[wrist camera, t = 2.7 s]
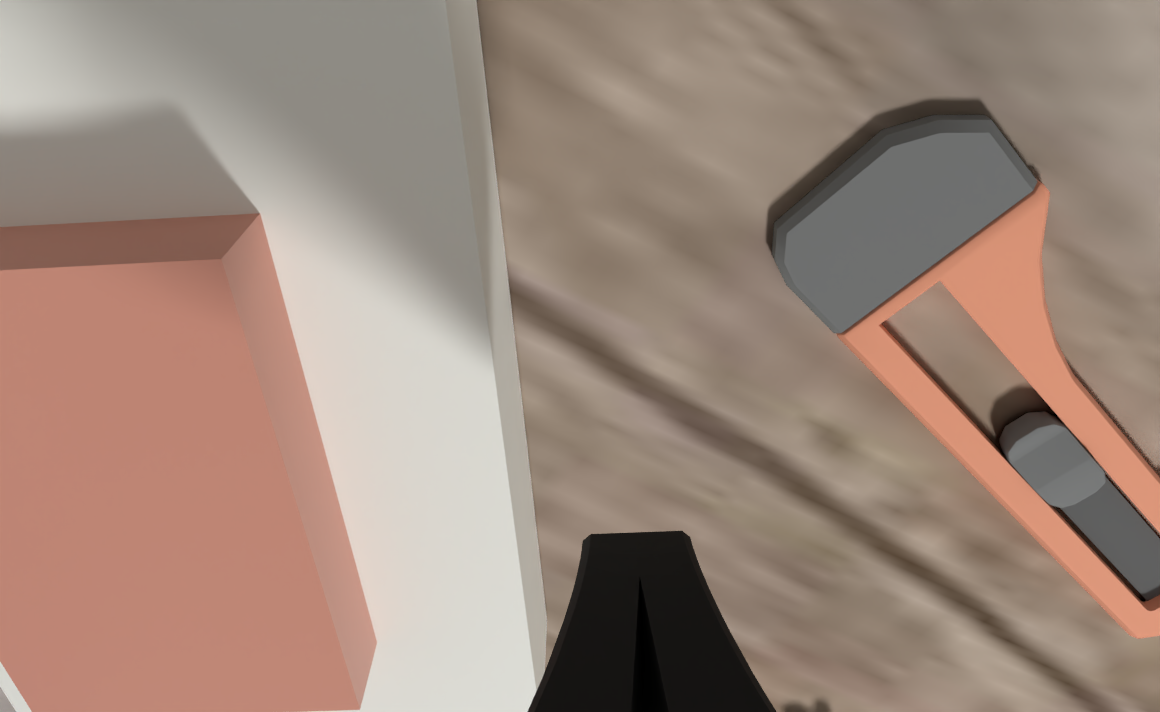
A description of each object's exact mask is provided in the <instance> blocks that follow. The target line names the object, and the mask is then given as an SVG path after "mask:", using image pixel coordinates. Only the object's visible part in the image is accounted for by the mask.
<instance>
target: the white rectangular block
mask: <svg viewBox="0 0 1160 712" xmlns="http://www.w3.org/2000/svg"><path fill="white" fill-rule="evenodd" d="M257 213H260V215H261V218H262V222H263V226H264V229H265V233H266V237H267V240H268V244H269V248H270V251H271V255H272V259H273V262H274V266H275V270H276V273H277V277H278V281H279V284H280V288H281V292H282V295H283V299H284V303H285V306H286V310H287V314H288V317H289V321H290V325H291V328H292V332H293V336H294V339H295V343H296V347H297V350H298V354H299V358H300V361H301V365H302V369H303V372H304V376H305V380H306V383H307V387H308V391H309V394H310V398H311V402H312V405H313V409H314V413H315V416H316V420H317V424H318V427H319V431H320V435H321V438H322V442H323V446H324V449H325V453H326V457H327V460H328V464H329V468H330V471H331V475H332V479H333V482H334V486H335V490H336V493H337V497H338V501H339V504H340V508H341V512H342V515H343V519H344V523H345V526H346V530H347V534H348V537H349V541H350V545H351V548H352V552H353V556H354V559H355V563H356V567H357V570H358V574H359V578H360V581H361V585H362V589H363V592H364V596H365V600H366V603H367V607H368V611H369V614H370V618H371V622H372V625H373V629H374V633H375V636H376V640H377V645H376V649H375V653H374V657H373V661H372V665H371V669H370V673H369V677H368V680H367V684H366V688H365V692H364V696H363V700H362V704H361V708H360V710H338V711H308V712H528V709H529V707H530V705H531V702H532V700H533V698H534V696H535V693H536V691H537V689H538V687H539V684H540V682H541V680H542V678H543V675H544V673H545V653H546V632H547V616H546V607H545V599H544V590H543V581H542V572H541V563H540V555H539V546H538V537H537V528H536V520H535V511H534V502H533V493H532V484H531V476H530V467H529V458H528V449H527V441H526V432H525V423H524V414H523V405H522V397H521V388H520V379H519V370H518V362H517V353H516V344H515V335H514V326H513V318H512V309H511V300H510V291H509V283H508V274H507V265H506V256H505V247H504V239H503V230H502V221H501V212H500V203H499V195H498V186H497V177H496V168H495V160H494V151H493V142H492V133H491V124H490V116H489V107H488V98H487V89H486V81H485V72H484V63H483V54H482V45H481V37H480V28H479V19H478V10H477V2H476V0H0V227H12V226H31V225H49V224H68V223H87V222H106V221H125V220H144V219H162V218H181V217H200V216H219V215H238V214H257ZM0 687H1V689H2V690H3V692H4V693H5V695H6V696H7V698H8V700H9V701H10V703H11V704H12V706H13V707H14V709H15V710H16V712H32V711H31V710H30V708H29V706H28V705H27V703H26V702H25V700H24V698H23V697H22V695H21V694H20V692H19V691H18V689H17V687H16V686H15V684H14V683H13V681H12V679H11V678H10V676H9V675H8V673H7V672H6V670H5V668H4V667H3V665H2V664H1V662H0Z"/></svg>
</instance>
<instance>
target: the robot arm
mask: <svg viewBox="0 0 1160 712" xmlns="http://www.w3.org/2000/svg"><path fill="white" fill-rule="evenodd" d="M528 712H776V710H775V709H774V707H773V705H772V704H771V702H770V701H769V699H768V698H767V696H766V694H765V693H764V691H763V689H762V688H761V686H760V684H759V683H758V681H757V679H756V677H755V676H754V674H753V672H752V671H751V669H750V667H749V665H748V663H747V662H746V660H745V658H744V656H743V654H742V653H741V651H740V649H739V647H738V645H737V643H736V642H735V640H734V638H733V636H732V634H731V633H730V631H729V629H728V627H727V625H726V623H725V621H724V619H723V617H722V615H721V613H720V611H719V609H718V607H717V604H716V602H715V600H714V598H713V596H712V594H711V592H710V590H709V587H708V585H707V583H706V580H705V578H704V576H703V573H702V571H701V568H700V566H699V563H698V560H697V558H696V555H695V552H694V549H693V546H692V542H691V539H690V537H689V536H688V535H687V534H685V533H684V532H683V531H666V532H638V533H611V534H591V535H589V536H588V537H587V538H586V539H585V540H583V544H582V552H581V559H580V564H579V568H578V573H577V577H576V581H575V585H574V589H573V592H572V596H571V599H570V602H569V606H568V609H567V612H566V615H565V619H564V621H563V624H562V627H561V630H560V632H559V635H558V638H557V641H556V643H555V646H554V649H553V652H552V654H551V657H550V660H549V662H548V665H547V668H546V670H545V673H544V675H543V678H542V680H541V682H540V684H539V687H538V689H537V691H536V693H535V696H534V698H533V700H532V702H531V705H530V707H529V709H528Z"/></svg>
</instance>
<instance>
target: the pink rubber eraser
mask: <svg viewBox="0 0 1160 712" xmlns="http://www.w3.org/2000/svg"><path fill="white" fill-rule="evenodd" d="M376 645H377V640H376V636H375V633H374V629H373V625H372V622H371V618H370V614H369V611H368V607H367V603H366V600H365V596H364V592H363V589H362V585H361V581H360V578H359V574H358V570H357V567H356V563H355V559H354V556H353V552H352V548H351V545H350V541H349V537H348V534H347V530H346V526H345V523H344V519H343V515H342V512H341V508H340V504H339V501H338V497H337V493H336V490H335V486H334V482H333V479H332V475H331V471H330V468H329V464H328V460H327V457H326V453H325V449H324V446H323V442H322V438H321V435H320V431H319V427H318V424H317V420H316V416H315V413H314V409H313V405H312V402H311V398H310V394H309V391H308V387H307V383H306V380H305V376H304V372H303V369H302V365H301V361H300V358H299V354H298V350H297V347H296V343H295V339H294V336H293V332H292V328H291V325H290V321H289V317H288V314H287V310H286V306H285V303H284V299H283V295H282V292H281V288H280V284H279V281H278V277H277V273H276V270H275V266H274V262H273V259H272V255H271V251H270V248H269V244H268V240H267V237H266V233H265V229H264V226H263V222H262V218H261V215H260V213H257V214H238V215H219V216H200V217H181V218H162V219H144V220H125V221H106V222H87V223H68V224H49V225H31V226H12V227H0V662H1V664H2V665H3V667H4V668H5V670H6V672H7V673H8V675H9V676H10V678H11V679H12V681H13V683H14V684H15V686H16V687H17V689H18V691H19V692H20V694H21V695H22V697H23V698H24V700H25V702H26V703H27V705H28V706H29V708H30V710H31V711H32V712H308V711H338V710H360V708H361V704H362V700H363V696H364V692H365V688H366V684H367V680H368V677H369V673H370V669H371V665H372V661H373V657H374V653H375V649H376Z"/></svg>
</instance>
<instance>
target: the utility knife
mask: <svg viewBox="0 0 1160 712" xmlns="http://www.w3.org/2000/svg"><path fill="white" fill-rule="evenodd" d="M1049 197H1050V192H1049V191H1048V190H1047V188H1046V187H1045V186H1044V184H1042V183H1041V182H1040V181H1038V180H1037V179H1035V177H1034V176H1033V175H1032V173H1031V172H1030V171H1029V169H1028V168H1027V167H1026V165H1025V164H1024V163H1023V161H1022V160H1021V159H1020V157H1019V156H1018V155H1017V153H1016V152H1015V151H1014V149H1013V148H1012V147H1011V145H1010V144H1009V143H1008V141H1007V140H1006V139H1005V137H1004V136H1003V135H1002V133H1001V132H1000V130H999V129H998V128H997V126H996V125H995V124H994V122H993V121H992V120H991V119H990V118H988V117H987V116H986V115H931V116H928V117H924V118H921V119H917V120H914V121H911V122H907V123H904V124H900V125H897V126H893V127H890V128H886V129H883V130H881V131H880V132H879V133H878V134H876V135H875V136H874V137H873V138H872V139H871V140H869V141H868V142H867V143H866V144H865V145H864V146H862V147H861V148H860V149H859V150H858V151H857V152H855V153H854V154H853V155H852V156H851V157H850V158H849V159H847V160H846V161H845V162H844V163H843V164H842V165H840V166H839V167H838V168H837V169H836V170H835V171H833V172H832V173H831V174H830V175H829V176H828V177H826V178H825V179H824V180H823V181H822V182H821V183H820V184H818V185H817V186H816V187H815V188H814V189H813V190H811V191H810V192H809V193H808V194H807V195H806V196H804V197H803V198H802V199H801V200H800V201H799V202H797V203H796V204H795V205H794V206H793V207H792V208H791V209H789V210H788V211H787V212H786V213H785V214H784V215H782V216H781V217H780V218H779V219H778V220H777V221H775V222H774V230H773V243H772V255H773V258H774V260H775V262H776V264H777V266H778V268H779V270H780V273H781V275H782V277H783V279H784V281H785V283H786V285H787V286H788V287H789V288H790V289H791V290H792V291H793V292H794V293H795V294H796V295H797V296H798V297H799V298H800V299H801V300H802V301H803V302H804V303H805V304H806V305H807V306H808V307H809V308H810V309H811V310H812V311H813V312H814V313H815V314H816V315H817V316H818V317H819V318H820V319H821V320H822V321H823V322H824V323H825V324H826V325H827V326H828V327H829V328H830V330H831V331H832V332H833V333H836V334H837V336H838V338H839V339H840V340H841V341H842V342H843V343H844V344H845V345H846V346H847V347H848V348H849V349H850V350H851V351H852V352H853V353H854V354H855V355H856V356H857V357H858V358H859V359H860V360H861V361H862V362H863V363H864V364H865V365H866V366H867V367H868V368H869V369H870V370H871V371H872V372H873V373H874V374H875V375H876V376H877V377H878V379H879V380H880V381H881V382H882V383H883V384H884V385H885V386H886V387H887V388H888V389H889V390H890V391H891V392H892V393H893V394H894V395H895V396H896V397H897V398H898V399H899V400H900V401H901V402H902V403H903V404H904V405H905V406H906V407H907V408H908V409H909V410H910V411H911V412H912V413H913V414H914V415H915V416H916V417H917V418H918V419H919V420H920V421H921V422H922V423H923V425H924V426H925V427H926V428H927V429H928V430H929V431H930V432H931V433H932V434H933V435H934V436H935V437H936V438H937V439H938V440H939V441H940V442H941V443H942V444H943V445H944V446H945V447H946V448H947V449H948V450H949V451H950V452H951V453H952V454H953V455H954V456H955V457H956V458H957V459H958V460H959V461H960V462H961V463H962V464H963V465H964V466H965V467H966V468H967V469H968V470H969V472H970V473H971V474H972V475H973V476H974V477H975V478H976V479H977V480H978V481H979V482H980V483H981V484H982V485H983V486H984V487H985V488H986V489H987V490H988V491H989V492H990V493H991V494H992V495H993V496H994V497H995V498H996V499H997V500H998V501H999V502H1000V503H1001V504H1002V505H1003V506H1004V507H1005V508H1006V509H1007V510H1008V511H1009V512H1010V513H1011V514H1012V515H1013V516H1014V518H1015V519H1016V520H1017V521H1018V522H1019V523H1020V524H1021V525H1022V526H1023V527H1024V528H1025V529H1026V530H1027V531H1028V532H1029V533H1030V534H1031V535H1032V536H1033V537H1034V538H1035V539H1036V540H1037V541H1038V542H1039V543H1040V544H1041V545H1042V546H1043V547H1044V548H1045V549H1046V550H1047V551H1048V552H1049V553H1050V554H1051V555H1052V556H1053V557H1054V558H1055V559H1056V560H1057V561H1058V562H1059V564H1060V565H1061V566H1062V567H1063V568H1064V569H1065V570H1066V571H1067V572H1068V573H1069V574H1070V575H1071V576H1072V577H1073V578H1074V579H1075V580H1076V581H1077V582H1078V583H1079V584H1080V585H1081V586H1082V587H1083V588H1084V589H1085V590H1086V591H1087V592H1088V593H1089V594H1090V595H1091V596H1092V597H1093V598H1094V599H1095V600H1096V601H1097V602H1098V603H1099V604H1100V605H1101V606H1102V607H1103V608H1104V609H1105V611H1106V612H1107V613H1108V614H1109V615H1110V616H1111V617H1112V618H1113V619H1114V620H1115V621H1116V622H1117V623H1118V624H1119V625H1120V626H1121V627H1122V628H1123V629H1124V630H1125V631H1126V632H1127V633H1128V634H1129V635H1130V636H1132V637H1135V638H1138V639H1140V638H1147V637H1153V636H1160V538H1159V537H1158V536H1157V535H1156V534H1155V533H1154V531H1153V530H1152V529H1151V528H1150V527H1149V526H1148V525H1147V523H1146V522H1145V521H1144V520H1143V519H1142V518H1141V517H1140V515H1139V514H1138V513H1137V512H1136V511H1135V510H1134V509H1133V507H1132V506H1131V505H1130V504H1129V503H1128V502H1127V501H1126V499H1125V498H1124V497H1123V496H1122V495H1121V494H1120V493H1119V491H1118V490H1117V489H1116V488H1115V487H1114V486H1113V485H1112V483H1111V482H1110V481H1109V480H1108V479H1107V478H1106V477H1105V471H1106V472H1107V473H1108V474H1109V475H1110V476H1111V477H1112V479H1113V480H1114V481H1115V482H1116V483H1117V484H1118V486H1119V487H1120V488H1121V489H1122V490H1123V491H1124V492H1125V494H1126V495H1127V496H1128V497H1129V498H1130V499H1131V500H1132V502H1133V503H1134V504H1135V505H1136V506H1137V507H1138V509H1139V510H1140V511H1141V512H1142V513H1143V514H1144V515H1145V517H1146V518H1147V519H1148V520H1149V521H1150V522H1151V523H1152V525H1153V526H1154V527H1155V528H1156V529H1157V530H1158V531H1159V533H1160V477H1159V476H1158V475H1157V474H1156V473H1155V471H1154V470H1153V469H1152V468H1151V467H1150V465H1149V464H1148V463H1147V462H1146V461H1145V459H1144V458H1143V457H1142V456H1141V455H1140V453H1139V452H1138V451H1137V450H1136V449H1135V447H1134V446H1133V445H1132V444H1131V443H1130V441H1129V440H1128V439H1127V438H1126V437H1125V435H1124V434H1123V433H1122V432H1121V431H1120V429H1119V428H1118V427H1117V426H1116V425H1115V423H1114V422H1113V421H1112V420H1111V419H1110V417H1109V416H1108V415H1107V414H1106V413H1105V411H1104V410H1103V409H1102V408H1101V407H1100V405H1099V404H1098V403H1097V402H1096V401H1095V399H1094V398H1093V397H1092V396H1091V395H1090V393H1089V392H1088V391H1087V390H1086V389H1085V387H1084V386H1083V385H1082V384H1081V383H1080V381H1079V380H1078V379H1077V378H1076V377H1075V375H1074V374H1073V373H1072V371H1071V369H1070V367H1069V365H1068V363H1067V361H1066V359H1065V357H1064V355H1063V353H1062V351H1061V349H1060V347H1059V345H1058V343H1057V341H1056V338H1055V334H1054V331H1053V327H1052V323H1051V319H1050V316H1049V312H1048V308H1047V304H1046V301H1045V292H1044V279H1043V266H1042V247H1043V240H1044V233H1045V225H1046V218H1047V211H1048V204H1049ZM938 281H941V282H942V283H943V285H944V286H945V287H946V288H947V289H948V290H949V291H950V293H951V294H952V295H953V296H954V297H955V298H956V299H957V301H958V302H959V303H960V304H961V305H962V306H963V307H964V309H965V310H966V311H967V312H968V313H969V314H970V316H971V317H972V318H973V319H974V320H975V321H976V322H977V324H978V325H979V326H980V327H981V328H982V329H983V330H984V332H985V333H986V334H987V335H988V336H989V337H990V339H991V340H992V341H993V342H994V343H995V344H996V345H997V347H998V348H999V349H1000V350H1001V351H1002V352H1003V353H1004V355H1005V356H1006V357H1007V358H1008V359H1009V360H1010V361H1011V363H1012V364H1013V365H1014V366H1015V367H1016V368H1017V370H1018V371H1019V372H1020V373H1021V374H1022V375H1023V376H1024V378H1025V379H1026V380H1027V381H1028V382H1029V383H1030V384H1031V386H1032V387H1033V388H1034V389H1035V390H1036V391H1037V392H1038V394H1039V395H1040V396H1041V397H1042V398H1043V399H1044V401H1045V402H1046V403H1047V404H1048V405H1049V406H1050V407H1051V409H1052V410H1053V411H1054V412H1055V413H1056V414H1057V415H1058V417H1059V418H1060V419H1061V420H1062V421H1063V422H1064V424H1065V425H1066V426H1067V427H1068V428H1069V429H1070V430H1071V432H1072V433H1073V434H1074V435H1075V436H1076V437H1077V438H1078V440H1079V441H1080V442H1081V443H1082V444H1083V445H1084V446H1085V448H1086V449H1087V450H1088V451H1089V452H1090V453H1091V455H1092V456H1093V457H1094V458H1095V459H1096V460H1097V461H1098V463H1099V464H1100V465H1101V466H1102V467H1103V468H1104V469H1105V471H1104V470H1103V469H1102V468H1101V466H1100V465H1099V464H1098V463H1097V461H1096V460H1095V459H1094V458H1093V457H1092V456H1091V455H1090V453H1089V452H1088V451H1087V450H1086V449H1085V448H1084V447H1083V445H1082V444H1081V443H1080V442H1079V441H1078V440H1077V439H1076V437H1075V436H1074V435H1073V434H1072V433H1071V432H1070V430H1069V429H1068V428H1067V427H1066V426H1065V425H1064V424H1063V422H1062V421H1061V420H1060V419H1059V418H1057V417H1055V416H1053V415H1051V414H1049V413H1047V412H1045V411H1042V412H1031V413H1026V414H1024V415H1023V416H1021V417H1020V418H1018V419H1016V420H1015V421H1013V422H1012V423H1010V424H1009V425H1007V426H1005V428H1004V430H1003V432H1002V435H1001V437H1000V439H999V442H1000V445H1001V448H1002V451H1003V453H1002V452H1001V451H1000V450H999V449H998V448H997V447H996V446H995V445H994V444H993V443H992V441H991V440H990V439H989V438H988V437H987V436H986V435H985V434H984V433H983V432H982V431H981V430H980V429H979V428H978V427H977V425H976V424H975V423H974V422H973V421H972V420H971V419H970V418H969V417H968V416H967V415H966V414H965V413H964V412H963V411H962V410H961V408H960V407H959V406H958V405H957V404H956V403H955V402H954V401H953V400H952V399H951V398H950V397H949V396H948V395H947V394H946V392H945V391H944V390H943V389H942V388H941V387H940V386H939V385H938V384H937V383H936V382H935V381H934V380H933V379H932V378H931V376H930V375H929V374H928V373H927V372H926V371H925V370H924V369H923V368H922V367H921V366H920V365H919V364H918V363H917V362H916V361H915V359H914V358H913V357H912V356H911V355H910V354H909V353H908V352H907V351H906V350H905V349H904V348H903V347H902V346H901V345H900V343H899V342H898V341H897V340H896V339H895V338H894V337H893V336H892V335H891V334H890V333H889V332H888V331H887V330H886V329H885V327H884V326H883V325H882V324H881V323H882V322H884V321H885V320H886V319H888V318H889V317H891V316H892V315H893V314H895V313H896V312H897V311H899V310H900V309H901V308H903V307H904V306H906V305H907V304H908V303H910V302H911V301H912V300H914V299H915V298H916V297H918V296H919V295H921V294H922V293H923V292H925V291H926V290H927V289H929V288H930V287H932V286H933V285H934V284H936V283H937V282H938ZM1053 506H1056V507H1060V508H1061V509H1062V510H1063V511H1064V512H1065V513H1066V515H1067V516H1068V517H1069V518H1070V519H1071V520H1072V521H1073V522H1074V523H1075V524H1076V525H1077V526H1078V527H1079V528H1080V530H1081V531H1082V532H1083V533H1084V534H1085V535H1086V536H1087V537H1088V538H1089V539H1090V540H1091V541H1092V542H1093V543H1094V545H1095V546H1096V547H1097V548H1098V549H1099V550H1100V551H1101V552H1102V553H1103V554H1104V555H1105V556H1106V557H1107V558H1108V560H1109V561H1110V562H1111V563H1112V564H1113V565H1114V566H1115V567H1116V568H1117V569H1118V570H1119V571H1120V572H1121V573H1122V575H1123V576H1124V577H1125V578H1126V579H1127V580H1128V581H1129V582H1130V583H1131V584H1132V585H1133V586H1134V587H1135V588H1136V590H1137V591H1138V592H1139V593H1140V594H1141V595H1142V596H1143V597H1144V598H1145V599H1146V600H1147V601H1145V602H1142V601H1141V600H1140V599H1139V598H1138V597H1137V596H1136V595H1135V594H1134V593H1133V592H1132V591H1131V590H1130V588H1129V587H1128V586H1127V585H1126V584H1125V583H1124V582H1123V581H1122V580H1121V579H1120V578H1119V577H1118V576H1117V575H1116V574H1115V573H1114V571H1113V570H1112V569H1111V568H1110V567H1109V566H1108V565H1107V564H1106V563H1105V562H1104V561H1103V560H1102V559H1101V558H1100V557H1099V555H1098V554H1097V553H1096V552H1095V551H1094V550H1093V549H1092V548H1091V547H1090V546H1089V545H1088V544H1087V543H1086V542H1085V541H1084V539H1083V538H1082V537H1081V536H1080V535H1079V534H1078V533H1077V532H1076V531H1075V530H1074V529H1073V528H1072V527H1071V526H1070V525H1069V524H1068V522H1067V521H1066V520H1065V519H1064V518H1063V517H1062V516H1061V515H1060V514H1059V513H1058V512H1057V511H1056V510H1055V509H1054V508H1053Z"/></svg>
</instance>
